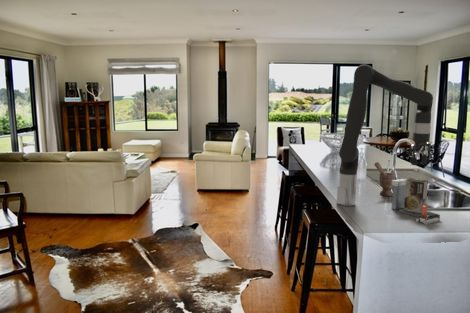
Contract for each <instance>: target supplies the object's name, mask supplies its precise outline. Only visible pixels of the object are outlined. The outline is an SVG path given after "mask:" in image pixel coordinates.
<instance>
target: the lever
mask: <svg viewBox="0 0 470 313" xmlns="http://www.w3.org/2000/svg"><path fill="white" fill-rule="evenodd" d="M428 207H429V206H428V205H427V204H426V205H422V212H421V218H420V217H419V218H420V222H419V223H423V224H424V221H426V220H427V211H428Z"/></svg>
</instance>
